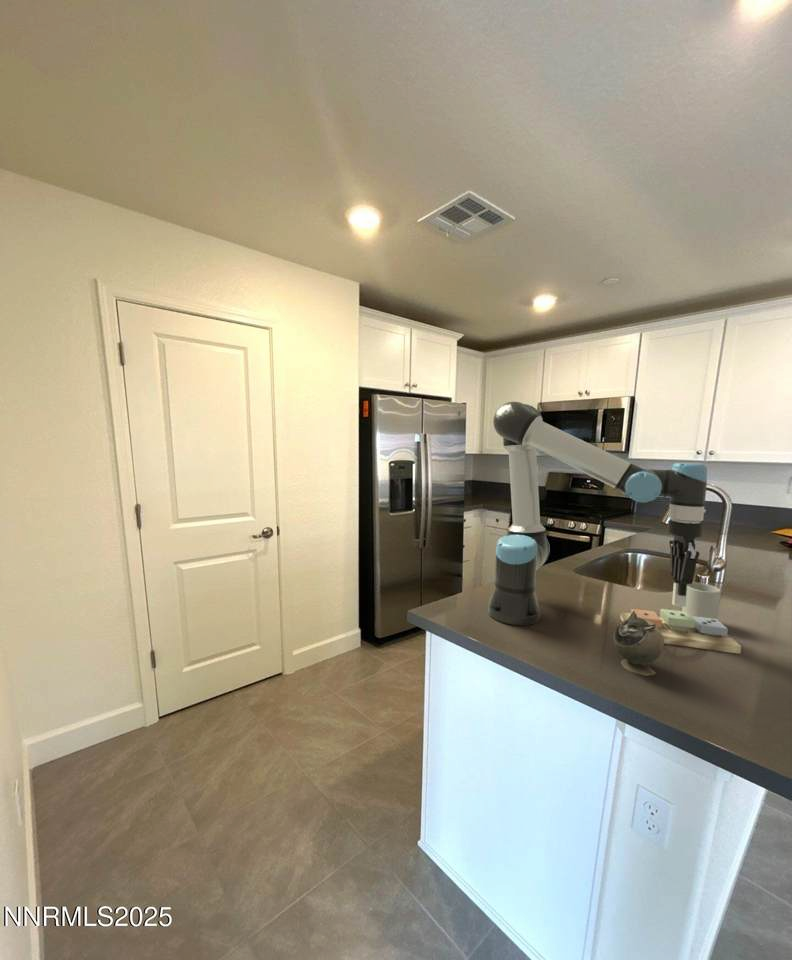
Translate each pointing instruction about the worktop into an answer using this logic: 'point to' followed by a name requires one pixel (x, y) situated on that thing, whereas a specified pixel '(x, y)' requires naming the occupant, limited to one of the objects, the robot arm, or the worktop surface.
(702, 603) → the mug
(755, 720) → the worktop surface
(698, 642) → the board
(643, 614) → the terracotta tile
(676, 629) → the sage tile
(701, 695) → the worktop surface
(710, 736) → the worktop surface
